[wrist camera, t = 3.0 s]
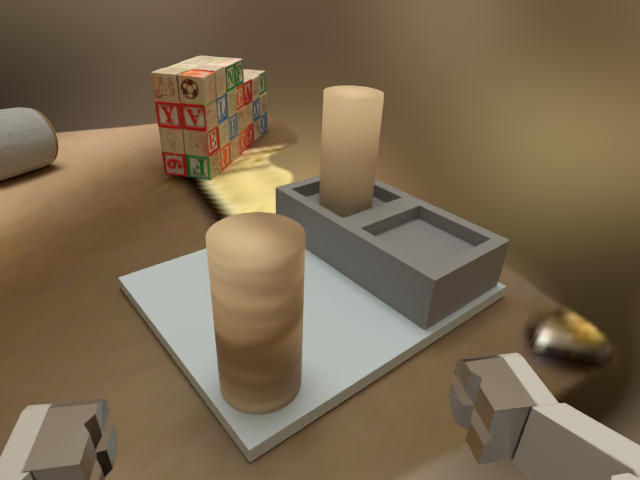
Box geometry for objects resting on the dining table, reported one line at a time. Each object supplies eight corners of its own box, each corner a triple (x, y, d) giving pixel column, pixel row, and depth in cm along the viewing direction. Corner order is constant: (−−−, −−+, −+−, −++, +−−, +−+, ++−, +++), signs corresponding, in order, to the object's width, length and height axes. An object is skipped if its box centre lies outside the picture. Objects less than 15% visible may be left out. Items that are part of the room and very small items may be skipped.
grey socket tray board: (249, 462, 24) (236, 225, 17) (120, 287, 36) (82, 109, 29) (503, 296, 38) (553, 126, 31) (345, 210, 50) (356, 75, 43)
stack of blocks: (231, 127, 75) (226, 46, 69) (267, 131, 74) (266, 49, 68) (164, 175, 57) (149, 70, 51) (211, 181, 56) (202, 74, 50)
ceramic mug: (69, 168, 57) (54, 105, 53) (4, 190, 51) (-20, 121, 47) (15, 153, 61) (-3, 93, 58) (-52, 172, 55) (-77, 107, 51)
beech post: (247, 429, 25) (239, 273, 20) (205, 375, 28) (187, 228, 23) (317, 387, 27) (325, 240, 22) (271, 342, 30) (269, 204, 25)
